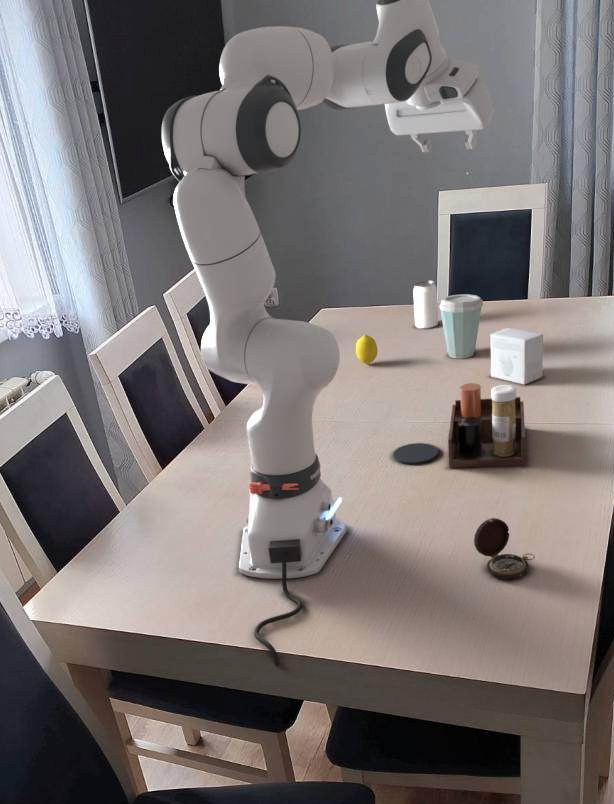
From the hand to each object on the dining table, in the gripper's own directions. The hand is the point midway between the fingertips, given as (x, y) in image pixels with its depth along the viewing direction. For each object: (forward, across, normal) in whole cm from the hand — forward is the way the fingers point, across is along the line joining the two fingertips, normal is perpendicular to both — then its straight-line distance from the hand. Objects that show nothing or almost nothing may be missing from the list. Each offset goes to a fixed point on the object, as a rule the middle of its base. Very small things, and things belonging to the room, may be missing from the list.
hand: (449, 148), depth 163 cm
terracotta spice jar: (+40, +8, -30) cm, 50 cm away
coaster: (+38, +2, -43) cm, 58 cm away
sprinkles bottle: (+42, +17, -36) cm, 58 cm away
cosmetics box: (+60, 0, -3) cm, 60 cm away
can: (+74, -43, +21) cm, 88 cm away
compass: (+25, +38, -68) cm, 82 cm away
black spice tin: (+40, +12, -39) cm, 57 cm away
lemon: (+58, -40, -7) cm, 71 cm away
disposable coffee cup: (+65, -20, +5) cm, 68 cm away
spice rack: (+42, +13, -36) cm, 57 cm away
